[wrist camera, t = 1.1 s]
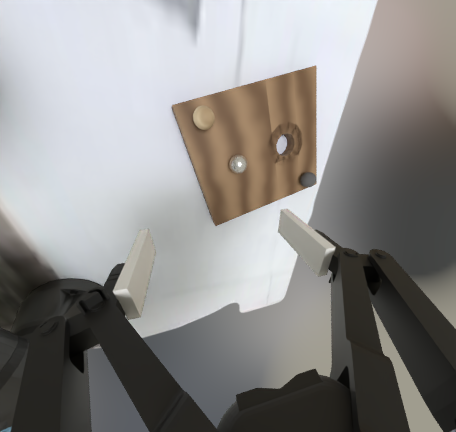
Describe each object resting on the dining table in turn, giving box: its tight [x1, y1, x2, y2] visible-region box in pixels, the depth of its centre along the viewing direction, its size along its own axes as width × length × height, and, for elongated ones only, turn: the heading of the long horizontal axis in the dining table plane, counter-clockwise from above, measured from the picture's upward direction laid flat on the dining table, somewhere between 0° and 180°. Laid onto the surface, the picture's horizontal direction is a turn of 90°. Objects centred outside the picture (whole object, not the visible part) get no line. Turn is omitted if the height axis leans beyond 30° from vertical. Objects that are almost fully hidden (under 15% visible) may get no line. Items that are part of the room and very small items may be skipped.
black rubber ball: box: [300, 172, 316, 187], centre depth 40 cm, size 4×4×4 cm
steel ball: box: [229, 155, 247, 174], centre depth 33 cm, size 4×4×4 cm
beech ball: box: [193, 105, 215, 130], centre depth 28 cm, size 4×4×4 cm
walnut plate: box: [172, 66, 316, 226], centre depth 36 cm, size 28×24×2 cm
